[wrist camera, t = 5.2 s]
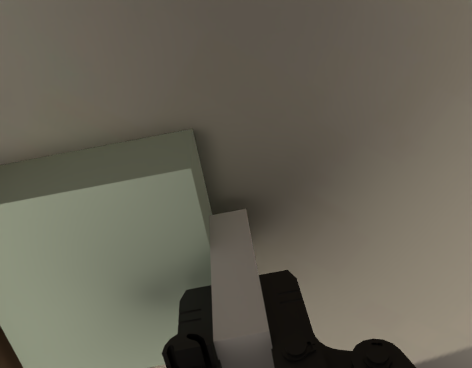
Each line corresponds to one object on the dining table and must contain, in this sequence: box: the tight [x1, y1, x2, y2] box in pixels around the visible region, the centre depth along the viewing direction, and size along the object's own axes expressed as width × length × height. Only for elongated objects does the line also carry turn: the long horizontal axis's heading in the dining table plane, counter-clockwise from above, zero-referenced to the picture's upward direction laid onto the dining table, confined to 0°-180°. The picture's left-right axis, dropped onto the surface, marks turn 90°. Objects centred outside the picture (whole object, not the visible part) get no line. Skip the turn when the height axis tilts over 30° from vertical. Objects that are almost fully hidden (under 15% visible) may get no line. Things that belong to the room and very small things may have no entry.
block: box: [0, 129, 212, 368], centre depth 17 cm, size 8×8×4 cm
